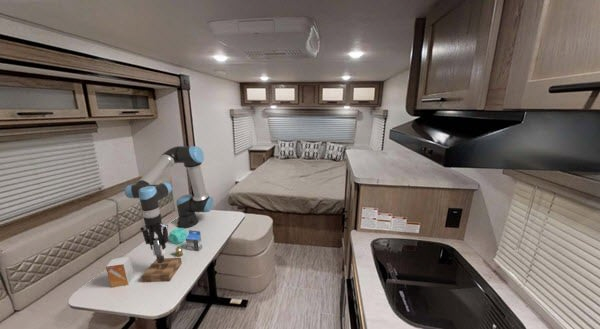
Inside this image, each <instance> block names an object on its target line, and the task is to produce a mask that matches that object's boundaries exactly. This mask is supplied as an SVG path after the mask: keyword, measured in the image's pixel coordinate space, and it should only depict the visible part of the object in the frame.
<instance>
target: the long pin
mask: <svg viewBox="0 0 600 329" xmlns="http://www.w3.org/2000/svg"><path fill="white" fill-rule="evenodd" d="M153 243H154V248H155V253H156V255H155V258H156V259H157V263H162V262H164V258H165V256H164V255H165V254H164V255H162V256H161V251H160V246H159V245H160V241H159V238H158V236H157V237H154V239H153Z"/></svg>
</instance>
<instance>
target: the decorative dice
mask: <svg viewBox="0 0 600 329" xmlns="http://www.w3.org/2000/svg"><path fill="white" fill-rule="evenodd" d="M187 236H188V232H187V231H186V228H179V227H177V228H174V229H172V230H171V231H170V232H169V234H168V240H169V241H170V243H172V244H174V245H178V244H179V245H180V244H182V243H184V242H186V237H187Z"/></svg>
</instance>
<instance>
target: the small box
mask: <svg viewBox="0 0 600 329" xmlns="http://www.w3.org/2000/svg"><path fill="white" fill-rule="evenodd" d="M105 268H106V272H107V276H108V280H109V284H110V288H115V287H122V286H128V285H130V283H131V282H132V281H133V279H134V277H135V274H134V270H133V267H132V262H131V257H130V256H125V257H117V258H112V259H111V260H110V261H109V262H108V263H107V265H106V266H105Z"/></svg>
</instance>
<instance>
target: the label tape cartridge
mask: <svg viewBox="0 0 600 329" xmlns="http://www.w3.org/2000/svg"><path fill="white" fill-rule="evenodd" d="M185 242H186V248H187V251H188V250H189V251H196V252H200V251H201V250H202V249H203V244H202V236H201V231H199V230H198V231H197V230H193V229H192V230H190V229H189V230H188V233H187V237H186V239H185Z"/></svg>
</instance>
